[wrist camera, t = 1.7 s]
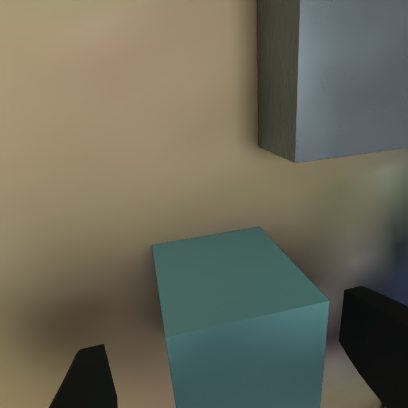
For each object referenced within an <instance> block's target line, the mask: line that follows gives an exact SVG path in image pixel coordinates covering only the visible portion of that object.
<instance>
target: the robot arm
mask: <svg viewBox="0 0 408 408" xmlns="http://www.w3.org/2000/svg"><path fill="white" fill-rule="evenodd" d="M339 342H340V344H341V346H342V347H343V349H344V350H345V352H346V354H347V355H348V357H349V359H350V360H351V362H352V363H353V365H354V366H355V368H356V369H357V371H358V372H359V374H360V375H361V376H362V378H363V379H364V380H365V382H366V383H367V384H368V385H369V387H370V388H371V389H372V390H373V392H374V393H375V394H376V396H377V397H378V398H379V399H380V401H381V402H382V403H383V404H384V405H385V408H408V306H406V305H403V304H401V303H399V302H397V301H395V300H393V299H391V298H388V297H386V296H384V295H382V294H380V293H377V292H375V291H373V290H371V289H368V288H366V287H363V286H360V287H355V288H351V289H346V290H344V299H343V308H342V317H341V326H340V335H339ZM49 408H118V407H117V395H116V391H115V387H114V383H113V379H112V375H111V371H110V367H109V363H108V359H107V355H106V351H105V347H104V344H102V345H97V346H93V347H88V348H84V349H80V350H79V351H78V352H77V354H76V356H75V358H74V360H73V362H72V364H71V366H70V368H69V370H68V372H67V374H66V376H65V378H64V380H63V382H62V384H61V386H60V388H59V390H58V391H57V393H56V395H55V397H54V399H53V401H52V403H51V405H50V406H49Z"/></svg>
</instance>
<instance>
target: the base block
mask: <svg viewBox="0 0 408 408" xmlns="http://www.w3.org/2000/svg"><path fill="white" fill-rule="evenodd" d="M257 20H258V111H259V147H260V148H262V149H265V150H267V151H269V152H271V153H274V154H276V155H278V156H280V157H283V158H285V159H287V160H289V161H292V162H294V163H299V162H306V161H314V160H321V159H328V158H336V157H343V156H351V155H358V154H366V153H373V152H380V151H388V150H395V149H403V148H408V0H257Z"/></svg>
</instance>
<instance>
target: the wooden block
mask: <svg viewBox="0 0 408 408" xmlns="http://www.w3.org/2000/svg"><path fill="white" fill-rule="evenodd" d="M152 250H153V257H154V264H155V270H156V277H157V284H158V291H159V298H160V305H161V311H162V318H163V325H164V332H165V339H166V345H167V352H168V358H169V365H170V371H171V378H172V384H173V391H174V398H175V404H176V408H320V403H321V392H322V380H323V369H324V357H325V346H326V335H327V323H328V312H329V300H328V299H327V298H326V297H325V296H324V295H323V294H322V293H321V291H320V290H319V289H318V288H317V287H316V286H315V285H314V284H313V283H312V282H311V281H310V280H309V279H308V278H307V277H306V276H305V275H304V273H303V272H302V271H301V270H300V269H299V268H298V267H297V266H296V265H295V264H294V263H293V262H292V261H291V260H290V259H289V258H288V257H287V256H286V254H285V253H284V252H283V251H282V250H281V249H280V248H279V247H278V246H277V245H276V244H275V243H274V242H273V241H272V240H271V239H270V238H269V236H268V235H267V234H266V233H265V232H264V231H263V230H262V229H261V228H260V227H255V228H249V229H243V230H237V231H232V232H226V233H220V234H214V235H208V236H202V237H196V238H190V239H184V240H179V241H173V242H167V243H161V244H155V245H152Z"/></svg>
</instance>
